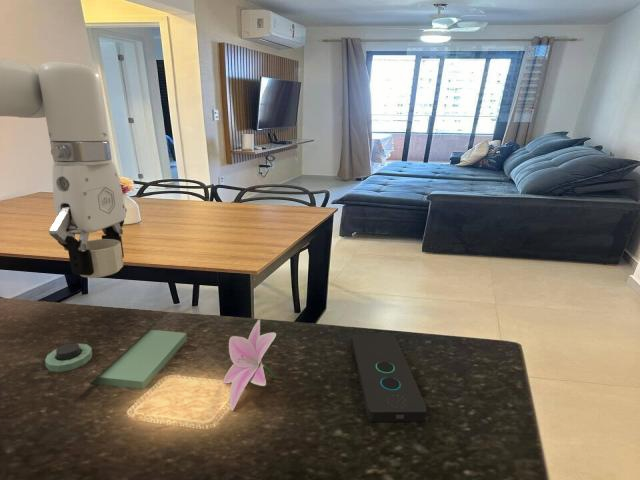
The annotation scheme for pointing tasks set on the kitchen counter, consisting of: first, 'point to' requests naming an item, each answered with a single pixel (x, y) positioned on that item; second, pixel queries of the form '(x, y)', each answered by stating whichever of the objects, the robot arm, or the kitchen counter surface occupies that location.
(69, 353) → the dark grey puck
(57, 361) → the mint green pieces
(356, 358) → the smart home device
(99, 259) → the bowl
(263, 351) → the lily
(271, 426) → the kitchen counter surface
